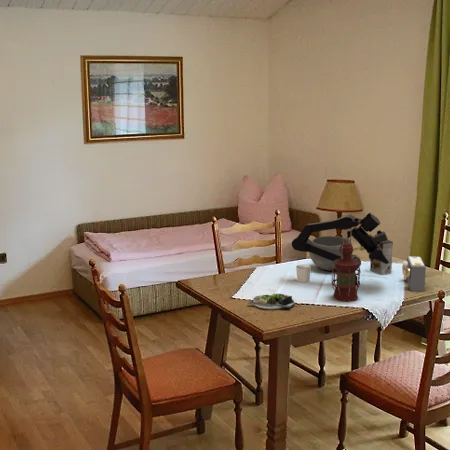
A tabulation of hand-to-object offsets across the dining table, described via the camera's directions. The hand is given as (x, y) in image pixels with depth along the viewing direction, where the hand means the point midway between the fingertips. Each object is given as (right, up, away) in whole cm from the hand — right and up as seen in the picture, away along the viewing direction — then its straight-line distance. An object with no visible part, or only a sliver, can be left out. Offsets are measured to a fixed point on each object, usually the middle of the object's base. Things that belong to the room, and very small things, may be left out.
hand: (388, 263), depth 280 cm
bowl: (-20, -5, +35) cm, 41 cm away
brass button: (+9, -6, 0) cm, 11 cm away
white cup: (-36, -9, +16) cm, 40 cm away
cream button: (+11, -4, +11) cm, 17 cm away
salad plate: (-51, -16, -16) cm, 56 cm away
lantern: (-21, -14, -10) cm, 27 cm away
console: (+14, -10, +6) cm, 18 cm away
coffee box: (+4, -6, +28) cm, 29 cm away
